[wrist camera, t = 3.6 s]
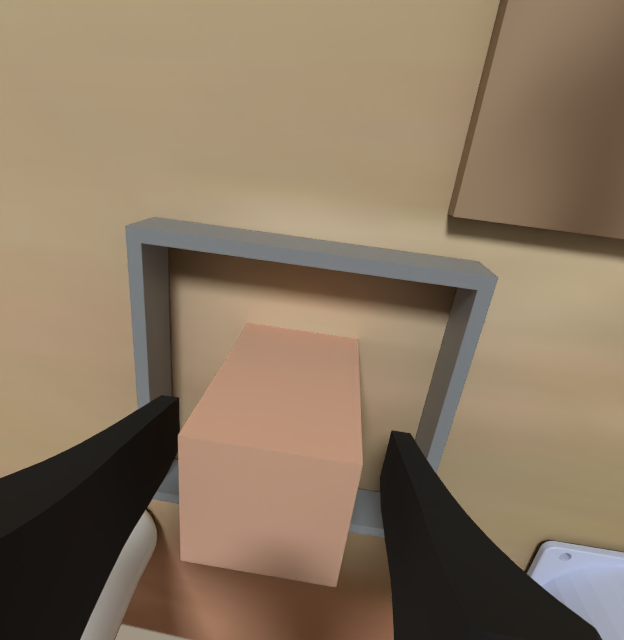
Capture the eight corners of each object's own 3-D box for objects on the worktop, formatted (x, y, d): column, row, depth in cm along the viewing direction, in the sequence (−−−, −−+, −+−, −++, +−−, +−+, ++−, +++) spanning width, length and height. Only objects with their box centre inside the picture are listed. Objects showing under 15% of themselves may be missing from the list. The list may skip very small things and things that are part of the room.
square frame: (479, 261, 14) (498, 277, 12) (408, 504, 19) (414, 542, 17) (153, 217, 14) (125, 225, 13) (164, 465, 19) (144, 497, 17)
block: (358, 339, 16) (363, 465, 9) (341, 429, 17) (336, 587, 11) (248, 322, 16) (177, 435, 9) (242, 413, 18) (180, 560, 11)
